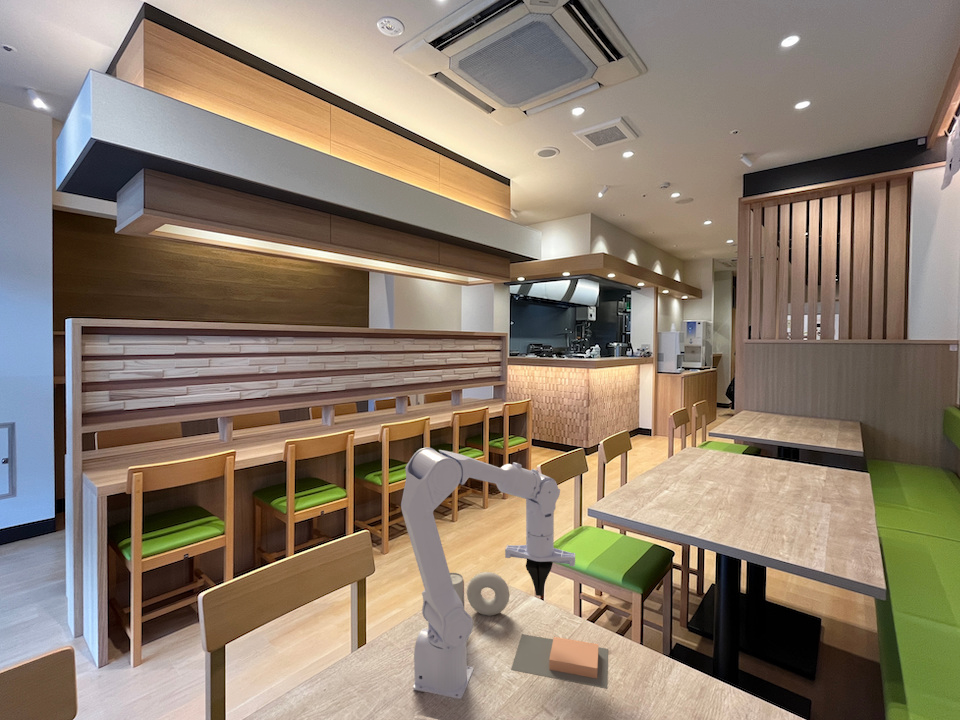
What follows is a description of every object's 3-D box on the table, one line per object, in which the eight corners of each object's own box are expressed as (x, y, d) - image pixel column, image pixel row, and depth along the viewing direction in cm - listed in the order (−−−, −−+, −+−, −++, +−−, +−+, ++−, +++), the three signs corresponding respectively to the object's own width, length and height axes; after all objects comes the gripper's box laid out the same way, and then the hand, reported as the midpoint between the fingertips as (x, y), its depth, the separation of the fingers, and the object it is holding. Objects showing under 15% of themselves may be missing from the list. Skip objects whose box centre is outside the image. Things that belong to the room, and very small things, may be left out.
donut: (510, 611, 110) (510, 570, 110) (509, 620, 107) (508, 578, 106) (468, 608, 112) (467, 567, 111) (465, 617, 108) (465, 575, 108)
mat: (511, 671, 91) (511, 669, 91) (521, 635, 102) (521, 633, 102) (607, 690, 86) (607, 688, 86) (608, 650, 97) (608, 648, 97)
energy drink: (435, 630, 103) (434, 578, 103) (454, 620, 107) (453, 569, 106) (450, 642, 100) (449, 588, 99) (469, 631, 103) (469, 578, 102)
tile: (549, 659, 91) (597, 668, 88) (553, 636, 98) (598, 644, 95) (549, 669, 91) (597, 678, 88) (553, 645, 98) (598, 653, 95)
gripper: (576, 526, 100) (576, 588, 101) (510, 519, 104) (510, 578, 105) (573, 541, 93) (573, 606, 94) (502, 532, 97) (503, 596, 98)
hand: (539, 593), depth 99 cm, fingers closed
